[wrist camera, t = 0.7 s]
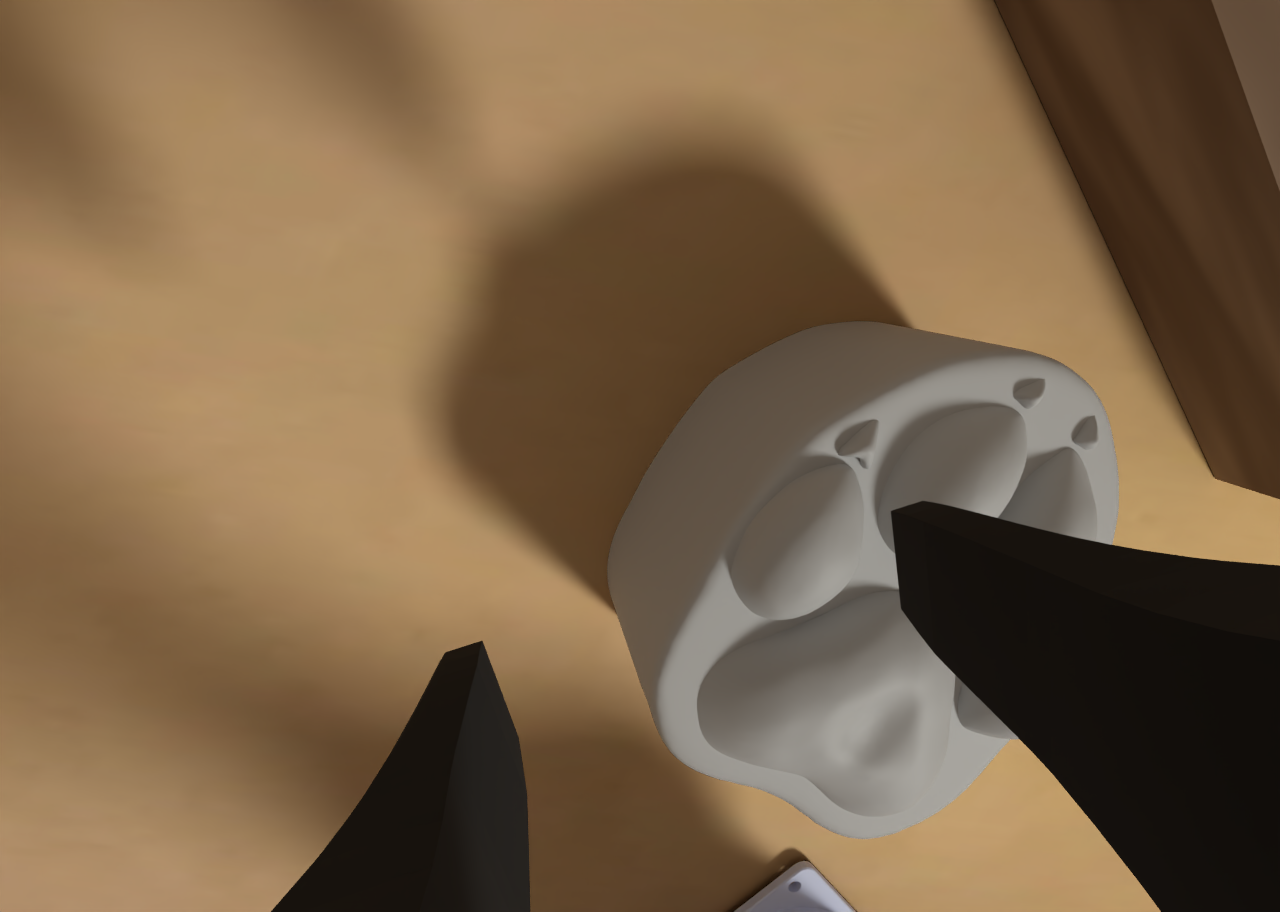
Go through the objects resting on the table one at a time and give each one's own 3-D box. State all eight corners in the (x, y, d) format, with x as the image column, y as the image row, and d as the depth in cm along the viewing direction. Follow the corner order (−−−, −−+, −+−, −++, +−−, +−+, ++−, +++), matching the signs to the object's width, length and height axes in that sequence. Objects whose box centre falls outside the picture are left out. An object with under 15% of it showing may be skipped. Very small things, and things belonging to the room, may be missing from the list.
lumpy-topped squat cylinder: (565, 593, 24) (604, 775, 15) (792, 244, 22) (969, 242, 14) (806, 714, 27) (944, 919, 19) (1020, 417, 25) (1275, 498, 17)
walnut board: (1215, 478, 27) (1404, 538, 22) (980, -31, 21) (1163, -135, 15) (1258, 445, 27) (1458, 496, 22) (1036, -76, 21) (1240, -197, 15)
